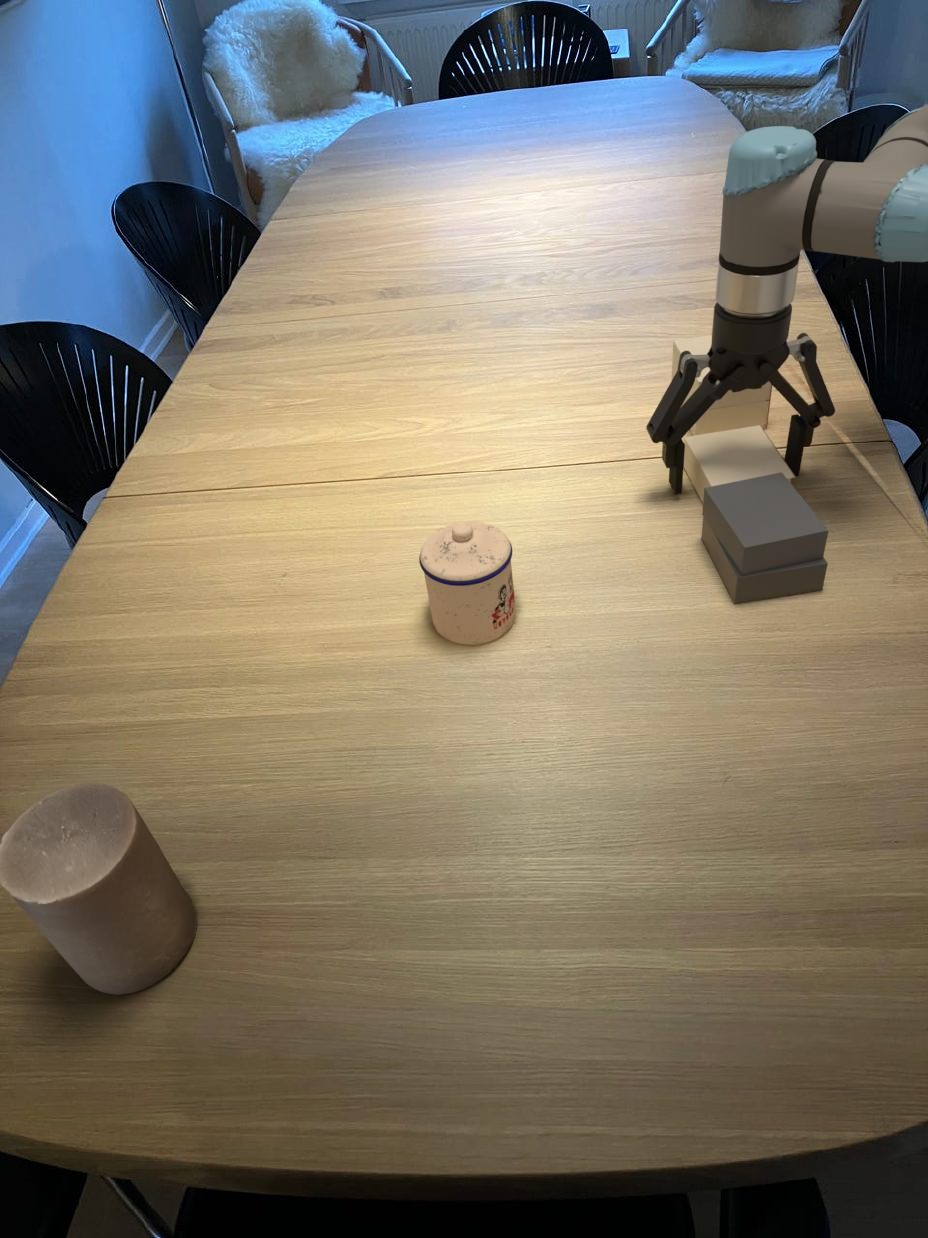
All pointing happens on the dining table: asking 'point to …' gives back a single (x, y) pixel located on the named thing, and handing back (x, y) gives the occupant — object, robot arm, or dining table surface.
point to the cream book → (732, 457)
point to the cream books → (733, 406)
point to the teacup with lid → (469, 582)
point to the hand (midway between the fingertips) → (733, 479)
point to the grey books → (763, 538)
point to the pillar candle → (98, 887)
